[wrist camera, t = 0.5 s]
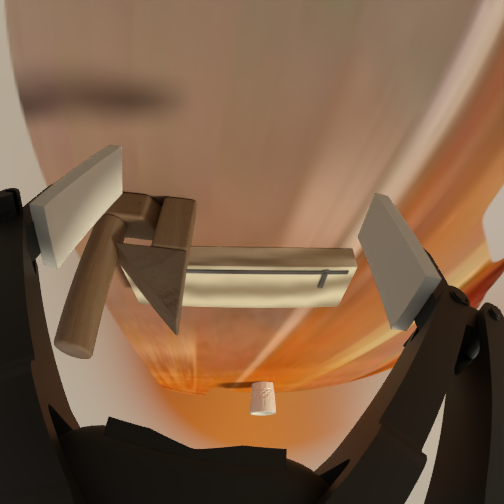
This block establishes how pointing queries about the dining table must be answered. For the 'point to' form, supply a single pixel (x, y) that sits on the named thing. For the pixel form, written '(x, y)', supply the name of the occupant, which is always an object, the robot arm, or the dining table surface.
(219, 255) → the maple board
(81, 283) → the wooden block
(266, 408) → the white cup
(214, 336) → the dining table surface
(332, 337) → the dining table surface
